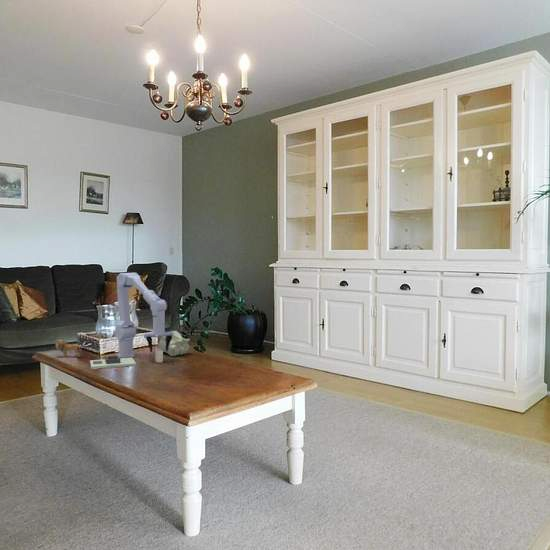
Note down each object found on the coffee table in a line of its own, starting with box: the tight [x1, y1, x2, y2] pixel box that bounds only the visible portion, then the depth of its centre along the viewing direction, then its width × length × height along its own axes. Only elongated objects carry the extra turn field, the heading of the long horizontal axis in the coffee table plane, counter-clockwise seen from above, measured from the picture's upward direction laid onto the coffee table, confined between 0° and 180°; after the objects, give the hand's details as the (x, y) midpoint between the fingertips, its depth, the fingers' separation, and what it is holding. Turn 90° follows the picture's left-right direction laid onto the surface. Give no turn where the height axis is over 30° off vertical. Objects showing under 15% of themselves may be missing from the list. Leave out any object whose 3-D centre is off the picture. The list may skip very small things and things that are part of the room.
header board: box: [89, 355, 137, 370], centre depth 237 cm, size 15×20×3 cm
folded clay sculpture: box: [158, 330, 191, 357], centre depth 262 cm, size 18×13×16 cm
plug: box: [154, 348, 164, 363], centre depth 244 cm, size 5×3×6 cm, turn 23°
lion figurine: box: [55, 339, 85, 358], centre depth 254 cm, size 15×5×9 cm, turn 95°
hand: (159, 351), depth 244 cm, fingers open, 7 cm apart
